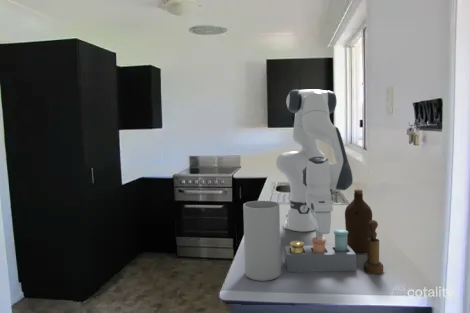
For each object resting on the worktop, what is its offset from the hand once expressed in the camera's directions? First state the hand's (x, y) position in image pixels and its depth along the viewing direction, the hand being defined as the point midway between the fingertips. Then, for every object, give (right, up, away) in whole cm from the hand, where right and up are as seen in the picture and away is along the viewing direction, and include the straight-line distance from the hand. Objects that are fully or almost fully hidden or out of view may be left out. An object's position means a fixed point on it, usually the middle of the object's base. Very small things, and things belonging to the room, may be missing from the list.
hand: (319, 239), depth 135 cm
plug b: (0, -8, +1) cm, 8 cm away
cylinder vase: (-21, -11, -5) cm, 24 cm away
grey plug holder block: (0, -10, +1) cm, 10 cm away
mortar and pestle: (+18, -10, -5) cm, 21 cm away
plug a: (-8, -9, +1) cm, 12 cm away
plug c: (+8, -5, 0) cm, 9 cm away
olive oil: (+20, -8, +16) cm, 27 cm away
